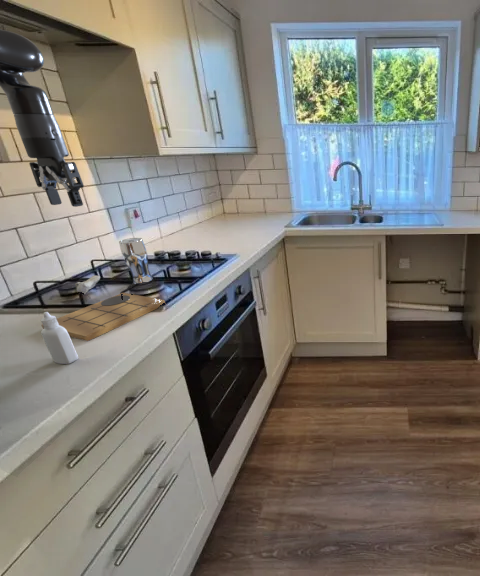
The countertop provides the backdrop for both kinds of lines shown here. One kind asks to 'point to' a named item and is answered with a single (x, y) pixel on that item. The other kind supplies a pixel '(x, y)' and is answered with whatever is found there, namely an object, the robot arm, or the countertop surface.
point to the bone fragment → (87, 284)
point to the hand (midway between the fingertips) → (67, 205)
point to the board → (106, 315)
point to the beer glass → (136, 259)
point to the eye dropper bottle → (57, 340)
